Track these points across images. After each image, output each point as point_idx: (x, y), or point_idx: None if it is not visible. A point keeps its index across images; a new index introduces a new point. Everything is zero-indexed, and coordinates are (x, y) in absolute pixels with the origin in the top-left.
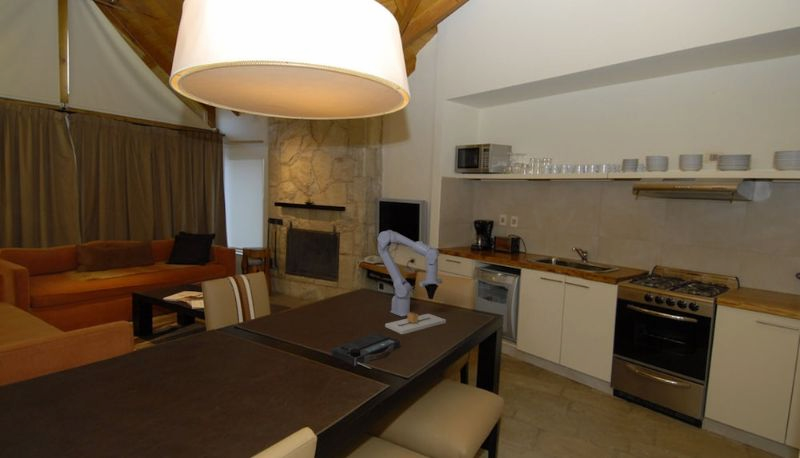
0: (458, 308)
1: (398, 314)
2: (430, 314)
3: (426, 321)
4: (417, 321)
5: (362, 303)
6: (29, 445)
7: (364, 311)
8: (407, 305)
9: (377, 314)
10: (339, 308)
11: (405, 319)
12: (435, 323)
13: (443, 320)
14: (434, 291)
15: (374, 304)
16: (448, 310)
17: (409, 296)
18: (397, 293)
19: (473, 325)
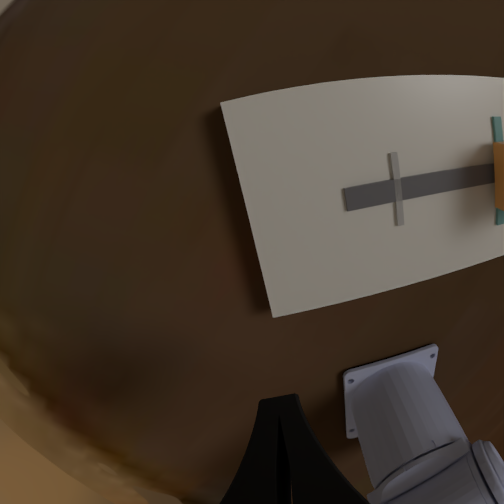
0: (11, 353)
1: (433, 368)
2: (273, 292)
3: (419, 138)
4: (498, 142)
5: None
6: None
7: (479, 422)
8: (415, 406)
9: (479, 390)
10: (497, 442)
11: (498, 249)
12: (360, 79)
13: (256, 94)
14: (255, 490)
15: None
16: (68, 354)
17: (408, 471)
18: (501, 464)
19: (57, 4)
